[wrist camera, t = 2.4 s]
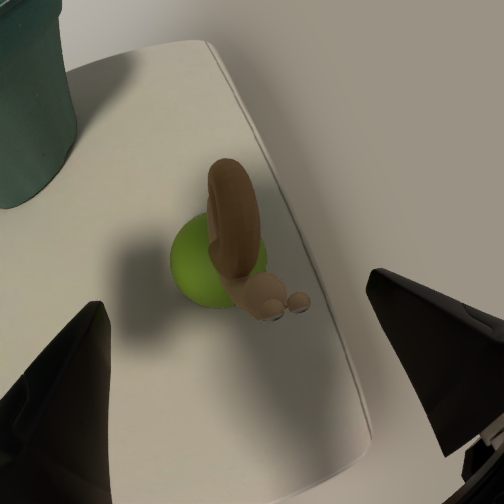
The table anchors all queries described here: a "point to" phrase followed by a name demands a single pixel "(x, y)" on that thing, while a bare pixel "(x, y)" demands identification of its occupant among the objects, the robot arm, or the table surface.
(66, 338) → the robot arm
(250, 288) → the snail figurine
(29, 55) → the flower pot
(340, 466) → the table surface
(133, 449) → the table surface
